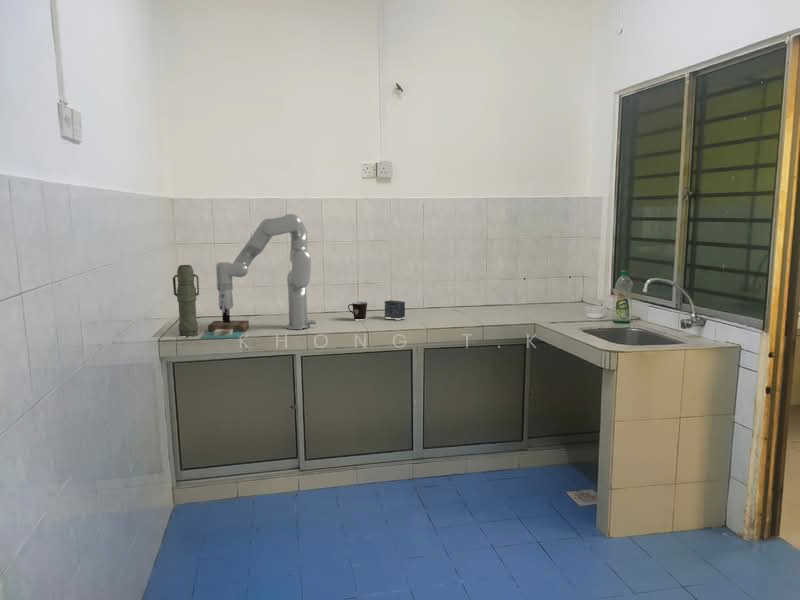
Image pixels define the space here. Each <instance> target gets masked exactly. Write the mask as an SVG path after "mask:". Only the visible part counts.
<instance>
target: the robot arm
mask: <svg viewBox="0 0 800 600" xmlns="http://www.w3.org/2000/svg"><path fill="white" fill-rule="evenodd" d="M288 233H289V234H290V253H289V261H290V262H291V269H290V270H289V272H288V274H287V277H286V279H287V280H286V282H287V294H288V324H286V326H285V327H286V329H287V328H288V330H293V329H300V330H304V329H303V328H307V329H309V328H311V325H316V320H313V319H312V320H310V319H309V318H308V307H307V305H308V303H307V302H308V301H307V299H308V298H307V286H308V285H309V284H310V279H311V268H312V267H311V266H312V258H311V254H310V252H309V251H308V231H307V229H306V226H305V225H304V224H303V222H302V221H301V218H300V217H299V216H298V215H296V214H291V213H288V214H287V213H286V214H285V215H283V216H279V217H275V218H264V219H263V220H262V221H261V222H260V224H258V226H257V228H256V229H255V231H254V233H253V234H252V236H251V237H250V238H249V240H248V241H247V242H246V244H245V245H244V246H243V248H242V249H241V251H240V252H239V253H238V255H237V256H236V257H235V259H234V261H233V263H231V262H223V261H222V262H217V263H216V266H215V270H216V290H217V291H218V307H219V310H220V311H221V314H222V321H223V323H229V322H230V321H231V319H230V317H231V315H230V310H231V309H233V307H234V299H233V291H232V290H233V288H234V287H233V277H235V278H243V277H245V276H247V274H248V272H249V266H250V265H251V263H252V262H253V261H254V259H255V258H256V257H257V256H258V255H260V254H261V253H262V252H263V251H264V250H265V248H266V246H267V245H268V244H269V242H270V240H272V238H273V237H274V236H279V235H284V234H288ZM308 327H309V328H308Z"/></svg>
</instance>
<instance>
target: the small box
mask: <svg viewBox="0 0 800 600" xmlns="http://www.w3.org/2000/svg"><path fill="white" fill-rule="evenodd" d="M405 305H406V302H405V301H401V300H384V318H385V317H391V318H403V317H405V318H406V309H405V308H406V306H405Z"/></svg>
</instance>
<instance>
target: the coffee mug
mask: <svg viewBox="0 0 800 600" xmlns="http://www.w3.org/2000/svg"><path fill="white" fill-rule="evenodd" d="M350 306H351V307H352V310H351V308H350ZM347 309H348V311H350V313H351V314H353V320H354V319H365V318H366V317H367V309H368V302H367V301H353V302H352V303H350V304H348V306H347ZM365 320H366V319H365Z"/></svg>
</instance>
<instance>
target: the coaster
mask: <svg viewBox="0 0 800 600" xmlns="http://www.w3.org/2000/svg"><path fill="white" fill-rule="evenodd" d="M213 333H214V336H230V335H231V334H232V333H233V329H216V330H215V331H214V332H213Z"/></svg>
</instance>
